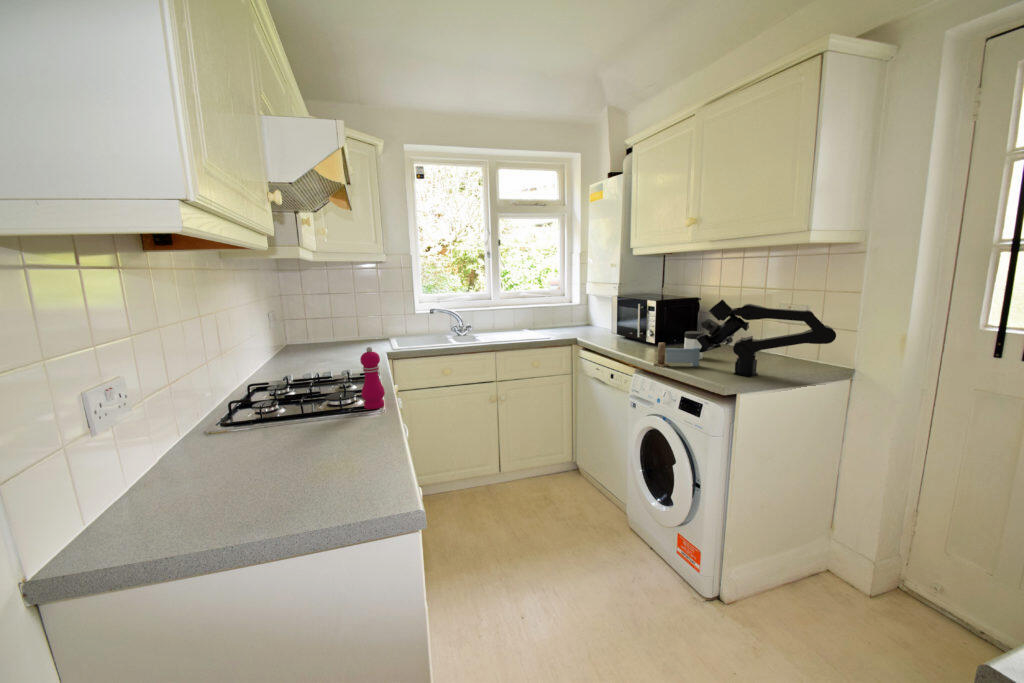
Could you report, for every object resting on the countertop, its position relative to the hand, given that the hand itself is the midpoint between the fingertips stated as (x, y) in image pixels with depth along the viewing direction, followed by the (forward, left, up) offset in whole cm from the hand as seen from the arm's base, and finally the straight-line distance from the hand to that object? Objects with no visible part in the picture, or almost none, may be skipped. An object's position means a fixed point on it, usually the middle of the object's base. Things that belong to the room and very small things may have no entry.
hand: (700, 351), depth 174 cm
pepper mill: (+37, +126, -7) cm, 132 cm away
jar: (+12, -14, -7) cm, 20 cm away
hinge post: (+12, +10, -7) cm, 17 cm away
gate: (+6, +3, -6) cm, 10 cm away
